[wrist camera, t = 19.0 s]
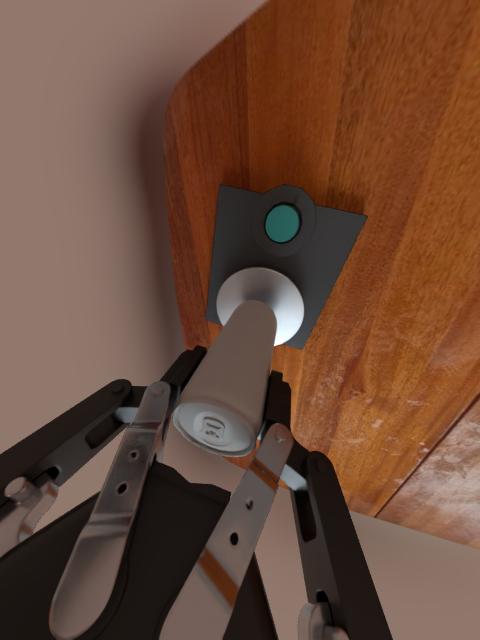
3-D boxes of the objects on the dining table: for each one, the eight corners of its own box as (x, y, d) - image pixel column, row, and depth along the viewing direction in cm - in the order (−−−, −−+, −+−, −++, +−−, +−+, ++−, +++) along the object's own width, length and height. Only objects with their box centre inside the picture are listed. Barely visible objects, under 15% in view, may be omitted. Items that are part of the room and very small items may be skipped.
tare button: (272, 202, 16) (270, 202, 15) (303, 209, 16) (304, 209, 15) (264, 236, 18) (261, 238, 17) (292, 243, 18) (292, 245, 16)
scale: (224, 175, 19) (214, 169, 16) (368, 205, 17) (381, 203, 14) (209, 315, 28) (200, 326, 25) (301, 343, 26) (302, 358, 23)
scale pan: (224, 255, 19) (222, 256, 19) (319, 279, 18) (320, 282, 18) (214, 330, 25) (212, 333, 24) (287, 353, 24) (286, 357, 23)
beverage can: (230, 331, 21) (171, 439, 11) (236, 292, 18) (166, 387, 8) (272, 342, 20) (249, 468, 10) (283, 304, 18) (269, 421, 8)
